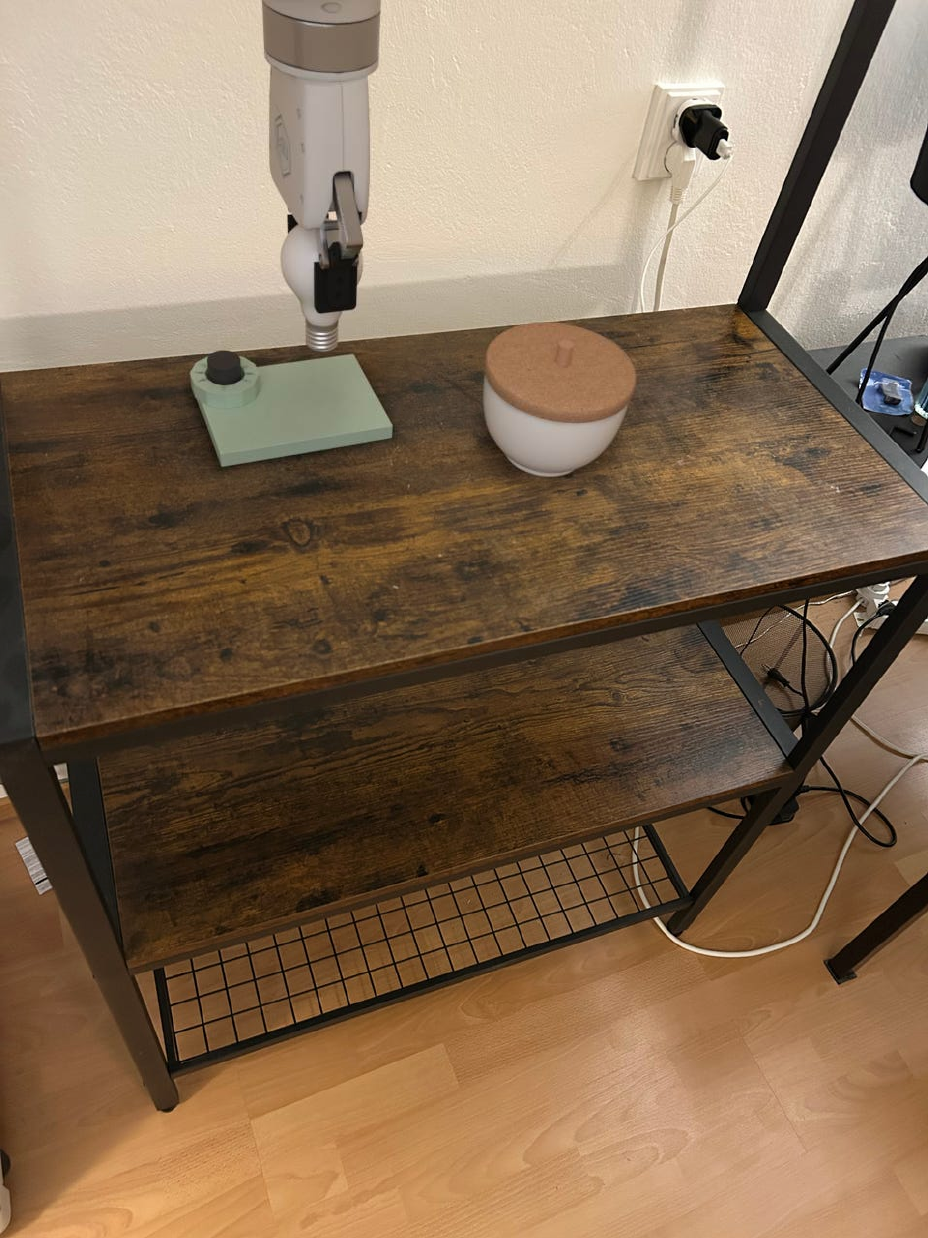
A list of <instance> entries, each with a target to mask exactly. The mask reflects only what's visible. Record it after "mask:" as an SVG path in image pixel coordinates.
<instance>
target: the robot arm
mask: <svg viewBox="0 0 928 1238" xmlns="http://www.w3.org/2000/svg"><path fill="white" fill-rule="evenodd" d="M381 4H382V0H261V11H262V12H261V15H262V39H263V57H264V59H265V61H266V62H267V63H268V64H269V67H270V68H269V92H268V93H269V95H268V97H269V99H268V108H269V109H268V121H269V122H268V164H269V167H268V168H269V172H270V176H271V179H272V181H273V183H274V185H275V187H276V189H277V191H278V193H279V194H280V196H281V198H282V200H283V201H284V203H285V205H286V206H287V211H288V213H287V214H286V221H287V234H288V233H289V232H290V231H291V230H292V229H293V228H294V227H295V226H296V225H298V224H299V225H300V226H301V227H302V228H303V229H305V230H306V231H311V230H312V228H315V232H316V241H317V250H318V259H319V262H314V307H315V309H316V311H317V313H319V314H323V313H331V312H339V311H342V312H348V311H353V310H355V309H356V307H357V298H358V297H357V296H358V285H357V268H358V264H359V253H360V250H361V251H362V249H363V247H364V236H363V232H362V227H361V226H362V225H363V224H364V223H365V222H366V220H367V218H368V213H369V203H370V188H371V122H370V112H371V109H370V95H369V92H370V91H369V77H368V76H371V75H372V74H374V72H376V71H377V70H378V69H379V63H380V61H379V60H380V34H381V33H380V32H381V11H382V8H381V6H382V5H381ZM330 213H335V216H336V219H332V220H328V221H325V218H328V219H330ZM330 230H339V238H338V242H333V243H332V244H331V246H330V247H329V249H328V240H327V231H330Z"/></svg>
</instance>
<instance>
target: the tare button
mask: <svg viewBox="0 0 928 1238" xmlns="http://www.w3.org/2000/svg"><path fill="white" fill-rule="evenodd" d="M239 356H240V355H238V353H236V352H234V351H232V350H225V349H221V350H217V351H214V352H211V353H210V354H208V356H207V357H208V358H207V367H208V376H209V380H210V381H211V382H212V383H214V384H219V385H231V384H235V383H237V382H239V381H240V380H241V378H242V375H241V361H240V357H239Z"/></svg>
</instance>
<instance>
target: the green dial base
mask: <svg viewBox="0 0 928 1238" xmlns="http://www.w3.org/2000/svg"><path fill="white" fill-rule="evenodd" d="M238 356H239V357H240V361H241V375H242V378H241V380H240V381H239V382H237V383H235V384H231V385H219V384H214V383H212V382H211V381H210V380H209V376H208V367H207V358H208V356H205V357H204V358H202V359H200V360H198V361H196V362H195V363H194V365H193V367H192V369H191V370H190V372H189V377H190V385H191V390H192V393H193V395H194V398H195V399H196V401H197V404H198V406H199V409H200V412H201V414H202V417H203V420H204V422H205V426H206V428H207V431H208V434H209V437H210V439H211V441H212V444H213V447H214V450H215V452H216V455H217V459H218V461H219V463H220V467H222V468H224V467H229V466H235V465H241V464H248V463H253V462H259V461H265V460H271V459H277V458H283V457H288V456H294V455H295V456H296V455H300V454H306V453H312V452H317V451H318V452H319V451H324V450H330V449H336V448H341V447H348V446H352V445H360V444H366V443H372V442H377V441H384V440H388V439H392V438H393V429H394V427H393V426H394V425H393V424H392V422H391V420H390V418H389V416H388V414H387V413H386V411H385V409H384V407H383V406H382V403H381V402H380V400H379V398H378V396H377V394H376V393H375V391H374V389H373V387H372V385H371V384H370V381H369V380H368V377H367V376H366V374H365V373H364V371H363V369H362V367H361V365H360V363H359V361H358V359H357V358H356V356H355V354H354V353H350V354H343V355H342V354H341V355H335V356H328V357H321V358H314V359H305V360H299V361H292V362H285V363H277V364H269V365H262V366H257V365H256V364H255V362H252V361H251V360H249V359H248V358H246V357H245V356H241V355H238Z"/></svg>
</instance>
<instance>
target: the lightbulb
mask: <svg viewBox="0 0 928 1238" xmlns="http://www.w3.org/2000/svg"><path fill="white" fill-rule="evenodd" d="M328 220H333V219H332V218H329V219H328V218H325V221H328ZM338 238H339V230H330V231H327V240H328V249H329V247H330V246H331V244H332V243H333V242H338ZM279 258H280V259H279V260H280V261H279V262H280V269H281V272H282V275H283V279H284V280H285V282H286V284H287V286H288V287H289V289H290V290H291V291H292V293H293V294H294V295H295V297H296V298H297V300H298V301H299V305H300V309H301V313H302V316H303V317H304V322H305V326H304V327H305V344H306V347H308V348H310V349H311V350H313V351H316V352H321V353H327V352H330V351H333V350H334V349H336V348H337V347H338V345H339V324H340V323H339V322H340V321H339V320H340V318H341V317H342V314H343V311H339V312H331V313H323V314H319V313H317V311H316V309H315V307H314V262H319V259H318V250H317V241H316V232H315V228H312V230H311V231H306V230H305V229H303V228H302V227H301V226H300V225H299V224H298V225H296V226H295V227H294V228H293V229H292V230H291V231H290V232H289V233H288V232H287V235H286V237H285V238H284V240H283V243H282V245H281V249H280V255H279ZM363 271H364V256H363V250H362V249H361V250H360V253H359V264H358V268H357V286H358V285H359V283H360V281H361V279H362V276H363Z"/></svg>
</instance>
